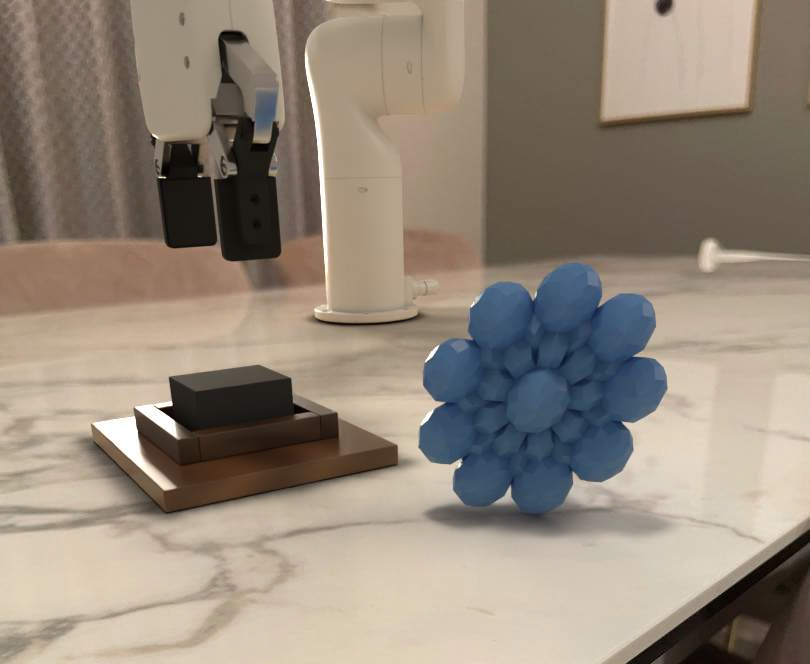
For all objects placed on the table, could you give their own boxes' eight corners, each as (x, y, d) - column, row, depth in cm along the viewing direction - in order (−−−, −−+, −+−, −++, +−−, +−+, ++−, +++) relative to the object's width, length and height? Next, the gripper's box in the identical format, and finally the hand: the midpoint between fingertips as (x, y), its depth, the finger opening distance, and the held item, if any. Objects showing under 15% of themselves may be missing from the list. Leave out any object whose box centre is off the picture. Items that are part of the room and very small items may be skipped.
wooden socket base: (286, 409, 63) (283, 372, 62) (398, 464, 50) (397, 419, 49) (93, 440, 56) (86, 400, 55) (166, 513, 43) (159, 463, 42)
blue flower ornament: (643, 487, 45) (666, 253, 41) (660, 536, 39) (689, 267, 35) (428, 481, 47) (426, 255, 42) (412, 527, 41) (407, 268, 36)
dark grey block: (264, 417, 56) (259, 364, 55) (296, 434, 52) (291, 377, 51) (175, 431, 53) (168, 376, 52) (202, 451, 49) (195, 391, 48)
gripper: (328, -151, 37) (347, 259, 44) (196, -65, 50) (227, 239, 57) (158, -180, 33) (209, 271, 40) (65, -79, 47) (115, 247, 54)
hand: (219, 252), depth 49 cm, fingers open, 9 cm apart
